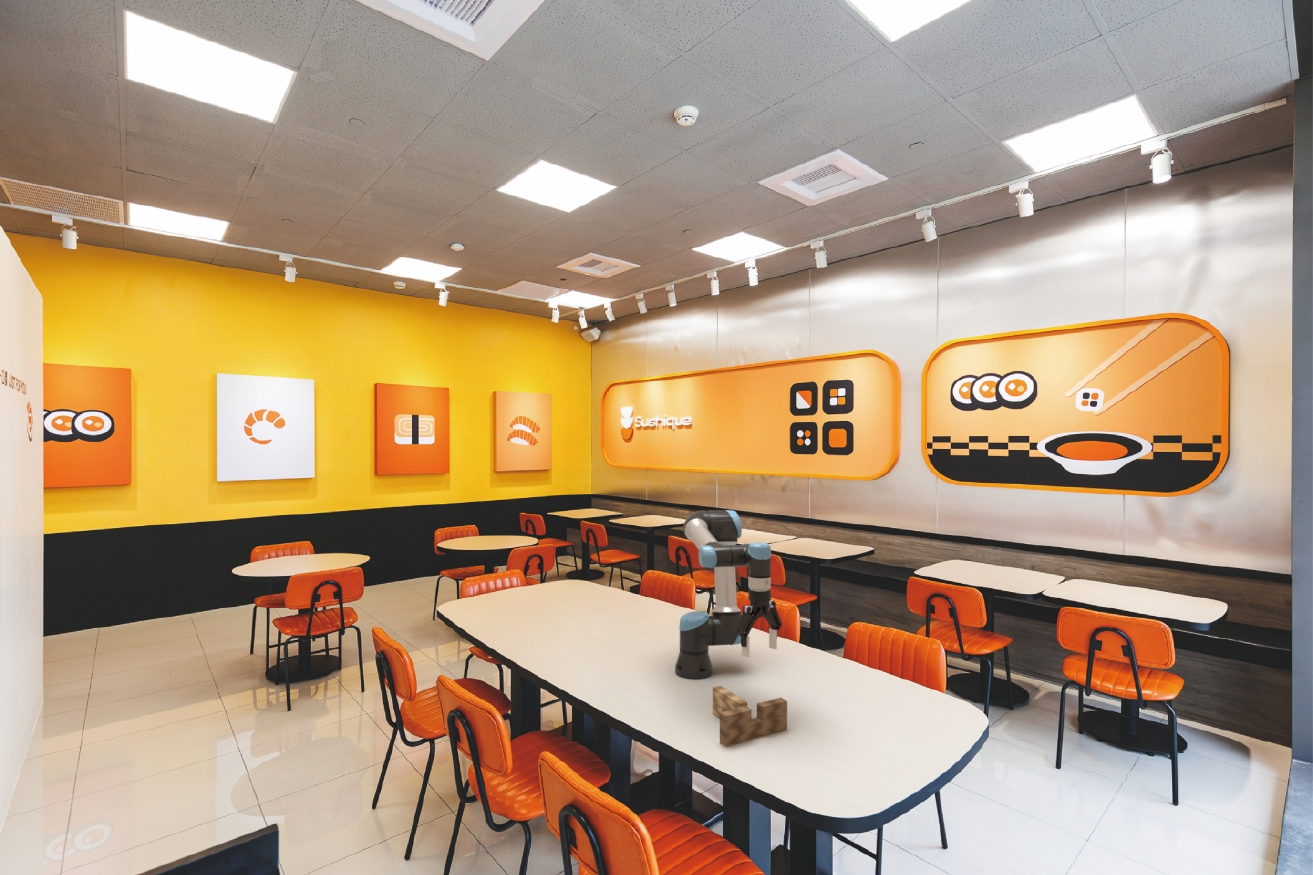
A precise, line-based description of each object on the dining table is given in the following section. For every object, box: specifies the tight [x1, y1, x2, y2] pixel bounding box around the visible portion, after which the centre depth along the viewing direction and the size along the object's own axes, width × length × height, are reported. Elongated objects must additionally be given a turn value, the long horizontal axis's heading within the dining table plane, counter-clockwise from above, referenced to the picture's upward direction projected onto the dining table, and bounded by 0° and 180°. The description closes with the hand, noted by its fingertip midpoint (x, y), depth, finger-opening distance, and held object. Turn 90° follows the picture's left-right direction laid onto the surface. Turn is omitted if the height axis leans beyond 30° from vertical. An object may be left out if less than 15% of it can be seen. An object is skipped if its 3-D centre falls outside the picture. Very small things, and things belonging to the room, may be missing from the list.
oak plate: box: [712, 685, 748, 720], centre depth 198 cm, size 15×3×9 cm, turn 29°
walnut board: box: [719, 697, 788, 747], centre depth 189 cm, size 24×3×9 cm, turn 119°
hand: (759, 652), depth 204 cm, fingers open, 13 cm apart
